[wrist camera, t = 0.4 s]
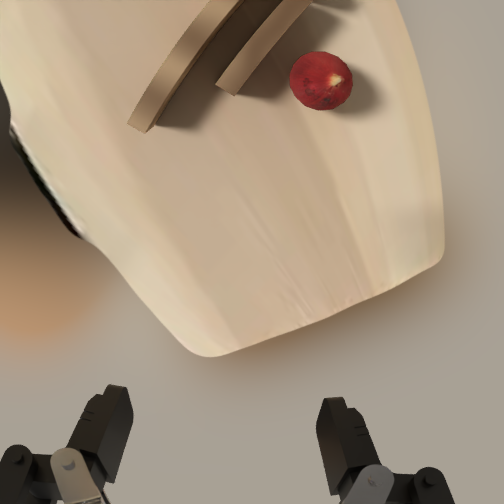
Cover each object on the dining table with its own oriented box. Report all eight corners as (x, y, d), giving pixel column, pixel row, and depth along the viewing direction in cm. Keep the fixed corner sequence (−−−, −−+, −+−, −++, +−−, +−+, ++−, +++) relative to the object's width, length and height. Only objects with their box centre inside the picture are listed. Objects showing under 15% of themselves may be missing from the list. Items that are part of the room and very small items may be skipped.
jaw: (250, -33, 20) (255, -52, 16) (266, -24, 21) (275, -41, 16) (137, 117, 28) (122, 125, 23) (153, 126, 29) (141, 136, 24)
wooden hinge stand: (166, 55, 25) (155, 51, 21) (256, -51, 19) (262, -71, 15) (232, 93, 28) (234, 96, 24) (319, -11, 22) (337, -24, 18)
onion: (327, 112, 30) (357, 125, 23) (275, 96, 29) (293, 103, 22) (342, 64, 27) (377, 65, 20) (291, 46, 26) (313, 38, 19)
